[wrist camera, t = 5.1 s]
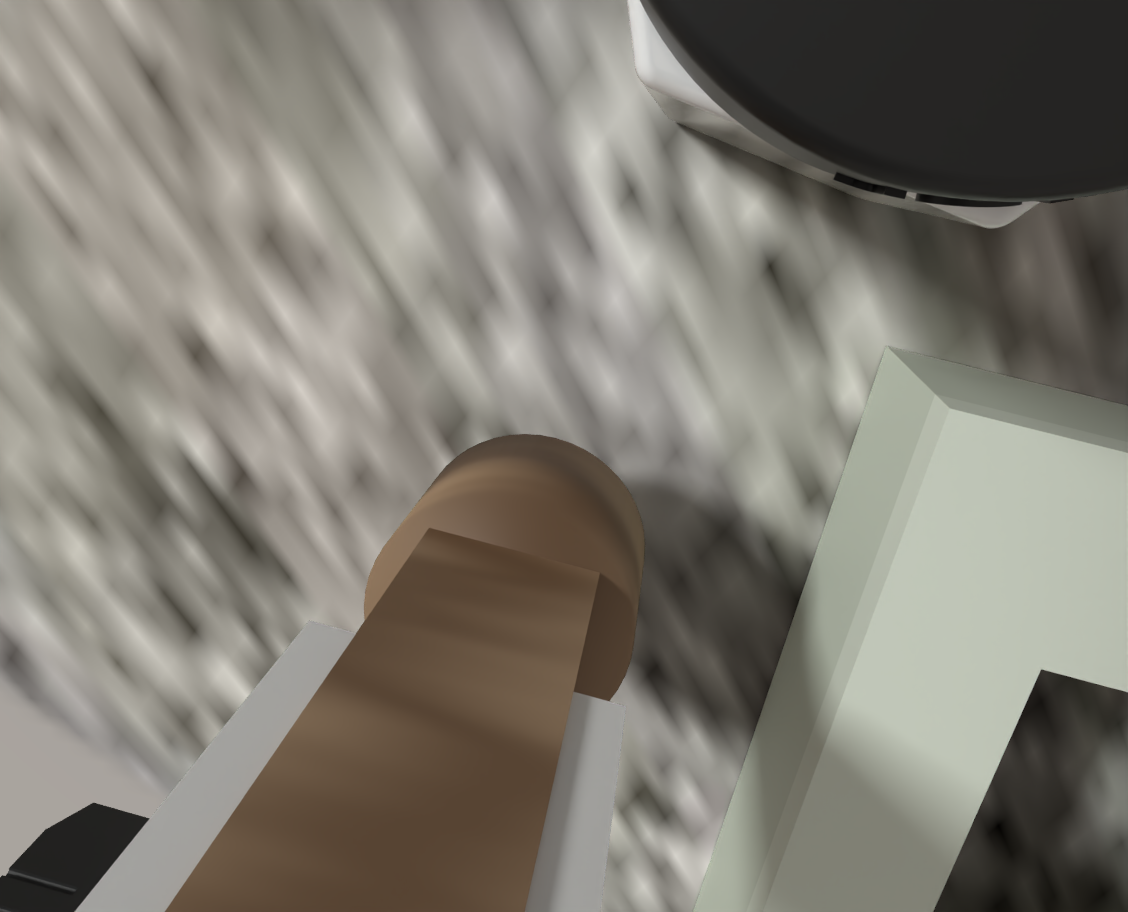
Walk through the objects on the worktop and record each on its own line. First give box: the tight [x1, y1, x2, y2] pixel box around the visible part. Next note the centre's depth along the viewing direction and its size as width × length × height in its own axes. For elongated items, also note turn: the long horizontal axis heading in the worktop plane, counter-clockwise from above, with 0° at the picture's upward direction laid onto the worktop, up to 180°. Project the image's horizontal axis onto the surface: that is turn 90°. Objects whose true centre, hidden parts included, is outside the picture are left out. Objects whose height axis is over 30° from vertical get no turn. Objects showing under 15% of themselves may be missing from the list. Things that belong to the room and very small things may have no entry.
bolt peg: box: [165, 434, 645, 912], centre depth 13 cm, size 5×5×14 cm
